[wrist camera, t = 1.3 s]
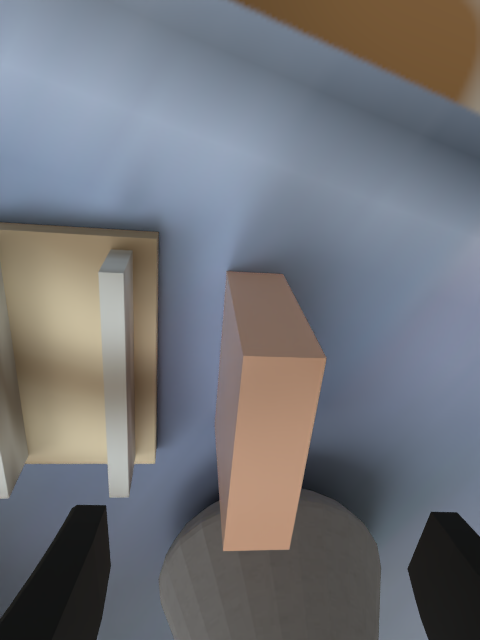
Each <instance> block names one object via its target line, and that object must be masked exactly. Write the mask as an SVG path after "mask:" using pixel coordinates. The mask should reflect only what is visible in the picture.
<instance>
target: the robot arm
mask: <svg viewBox="0 0 480 640" xmlns="http://www.w3.org/2000/svg"><path fill="white" fill-rule="evenodd" d="M110 567H111V562H110V550H109V537H108V524H107V512H106V505H76V506H75V507H73V508H72V509H71V511H70V513H69V515H68V516H67V518H66V520H65V522H64V523H63V525H62V527H61V529H60V530H59V532H58V534H57V535H56V537H55V538H54V540H53V542H52V543H51V545H50V547H49V548H48V550H47V551H46V553H45V554H44V556H43V557H42V559H41V561H40V562H39V564H38V565H37V567H36V568H35V570H34V571H33V573H32V574H31V576H30V577H29V579H28V580H27V581H26V583H25V584H24V586H23V587H22V589H21V590H20V592H19V593H18V595H17V596H16V597H15V599H14V600H13V602H12V603H11V605H10V606H9V608H8V609H7V610H6V612H5V613H4V615H3V616H2V617H1V619H0V640H96V639H97V635H98V631H99V627H100V624H101V620H102V615H103V609H104V603H105V597H106V592H107V586H108V580H109V574H110ZM408 572H409V576H410V580H411V584H412V588H413V592H414V596H415V600H416V603H417V607H418V610H419V614H420V617H421V620H422V623H423V626H424V629H425V631H426V634H427V637H428V639H429V640H480V537H479V535H478V534H477V533H476V532H475V531H474V530H473V529H472V528H471V527H470V526H469V525H468V524H467V523H466V521H465V520H464V519H463V518H462V517H461V516H460V515H459V514H458V513H457V512H431V513H430V516H429V518H428V520H427V523H426V525H425V528H424V530H423V533H422V535H421V537H420V540H419V542H418V545H417V547H416V549H415V552H414V554H413V557H412V559H411V562H410V564H409V566H408Z"/></svg>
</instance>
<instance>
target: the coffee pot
mask: <svg viewBox="0 0 480 640" xmlns="http://www.w3.org/2000/svg"><path fill="white" fill-rule="evenodd" d="M380 581H381V565H380V559H379V553H378V547H377V543H376V542H375V540H374V539H373V537H372V536H371V534H370V532H369V531H368V529H367V528H366V526H365V525H364V523H363V522H362V521H361V520H359V519H358V518H357V517H356V516H355V515H354V514H353V513H352V512H350V511H349V510H348V509H346V508H345V507H344V506H342V505H341V504H340V503H339V502H337V501H336V500H334V499H331V498H329V497H326V496H324V495H321V494H319V493H316V492H314V491H310V490H306V489H301V492H300V497H299V502H298V507H297V512H296V517H295V523H294V528H293V533H292V538H291V543H290V548H289V550H251V551H223V544H222V529H221V514H220V500H219V501H217V502H215V503H213V504H212V505H210V506H209V507H207V508H206V509H205V510H203V511H202V512H201V513H199V514H198V515H197V516H196V517H194V518H193V519H192V520H191V521H189V522H188V523H187V524H186V525H185V527H184V528H183V529H182V531H181V532H180V533H179V535H178V536H177V538H176V539H175V540H174V542H173V544H172V545H171V547H170V549H169V550H168V552H167V554H166V557H165V560H164V563H163V566H162V570H161V573H160V576H159V589H160V600H161V605H162V608H163V610H164V613H165V615H166V618H167V621H168V623H169V626H170V629H171V631H172V634H173V637H174V639H175V640H378V637H379V609H380Z"/></svg>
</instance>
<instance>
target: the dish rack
mask: <svg viewBox="0 0 480 640" xmlns="http://www.w3.org/2000/svg"><path fill="white" fill-rule="evenodd" d="M158 250H159V232H151V231H135V230H118V229H102V228H85V227H69V226H52V225H36V224H19V223H3V222H0V499H4V498H9V497H10V495H11V493H12V490H13V488H14V486H15V484H16V482H17V480H18V477H19V475H20V473H21V471H22V469H23V466H24V464H108V480H109V498H114V497H129V494H130V487H131V481H132V475H133V469H134V464H155V458H156V439H157V345H158Z"/></svg>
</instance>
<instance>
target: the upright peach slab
mask: <svg viewBox="0 0 480 640" xmlns="http://www.w3.org/2000/svg"><path fill="white" fill-rule="evenodd" d="M326 359H327V358H326V356H325V354H324V352H323V351H322V349H321V347H320V345H319V343H318V341H317V339H316V337H315V335H314V333H313V331H312V329H311V327H310V325H309V323H308V321H307V319H306V317H305V316H304V314H303V312H302V310H301V308H300V306H299V304H298V302H297V300H296V298H295V296H294V294H293V292H292V290H291V288H290V286H289V284H288V282H287V281H286V279H285V277H284V275H283V274H272V273H253V272H233V271H227V273H226V285H225V298H224V311H223V324H222V336H221V349H220V362H219V374H218V387H217V400H216V413H215V440H216V454H217V469H218V484H219V499H220V514H221V529H222V544H223V551H251V550H289V548H290V543H291V538H292V533H293V528H294V523H295V517H296V512H297V507H298V502H299V497H300V492H301V487H302V482H303V476H304V471H305V466H306V461H307V456H308V451H309V446H310V441H311V435H312V430H313V425H314V420H315V415H316V410H317V405H318V400H319V394H320V389H321V384H322V379H323V374H324V369H325V364H326Z"/></svg>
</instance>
